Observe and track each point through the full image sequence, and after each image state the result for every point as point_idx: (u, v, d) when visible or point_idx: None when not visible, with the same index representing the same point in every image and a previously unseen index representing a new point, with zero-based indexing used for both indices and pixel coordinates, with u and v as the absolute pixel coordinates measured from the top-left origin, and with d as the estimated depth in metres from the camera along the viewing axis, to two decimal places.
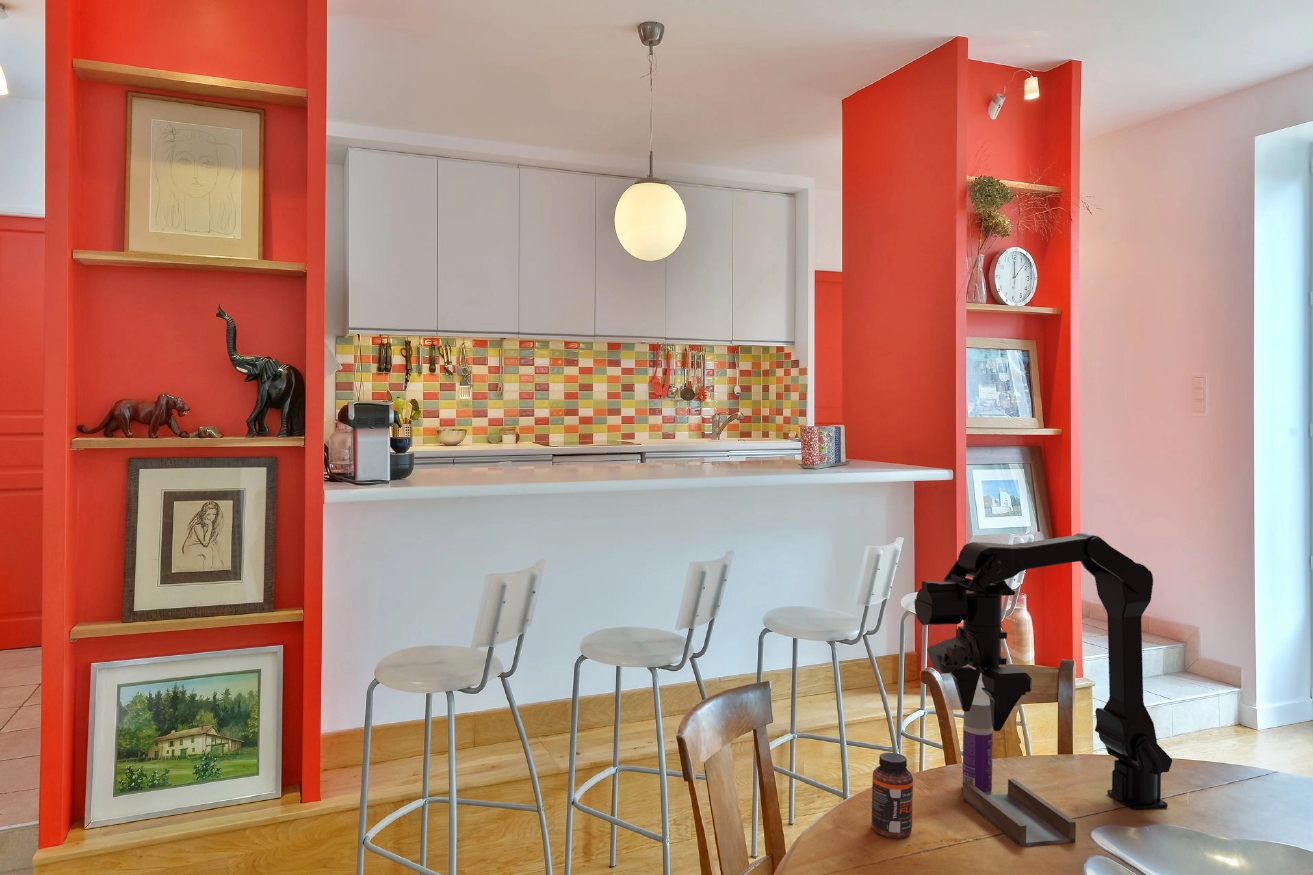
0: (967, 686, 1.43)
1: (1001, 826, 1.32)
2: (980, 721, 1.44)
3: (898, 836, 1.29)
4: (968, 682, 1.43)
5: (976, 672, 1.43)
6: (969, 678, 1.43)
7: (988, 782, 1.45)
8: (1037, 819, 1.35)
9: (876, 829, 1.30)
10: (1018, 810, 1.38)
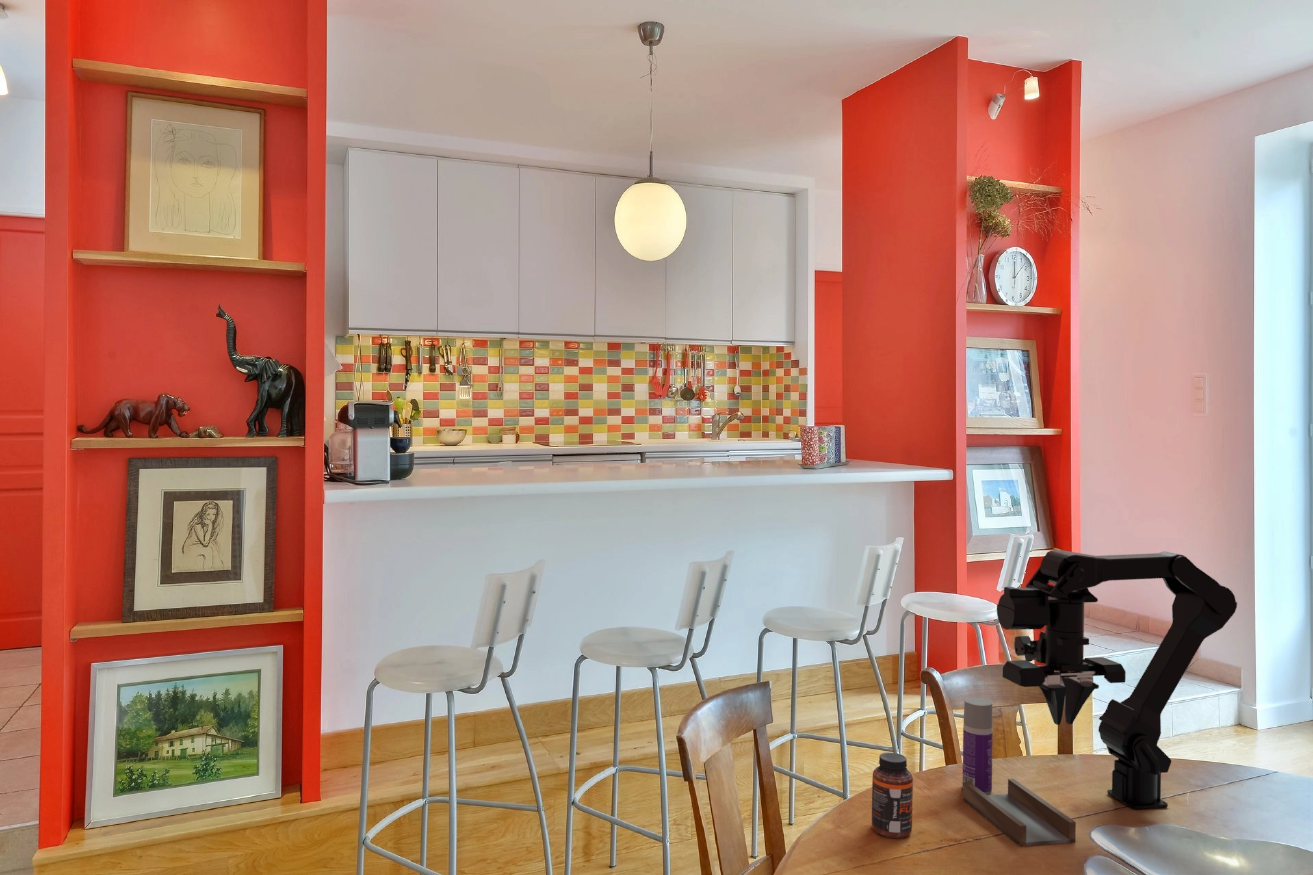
0: (1071, 699, 1.42)
1: (1001, 826, 1.32)
2: (980, 721, 1.44)
3: (898, 836, 1.29)
4: (1072, 696, 1.41)
5: (1079, 689, 1.40)
6: (1074, 692, 1.41)
7: (988, 782, 1.45)
8: (1037, 819, 1.35)
9: (876, 829, 1.30)
10: (1018, 810, 1.38)
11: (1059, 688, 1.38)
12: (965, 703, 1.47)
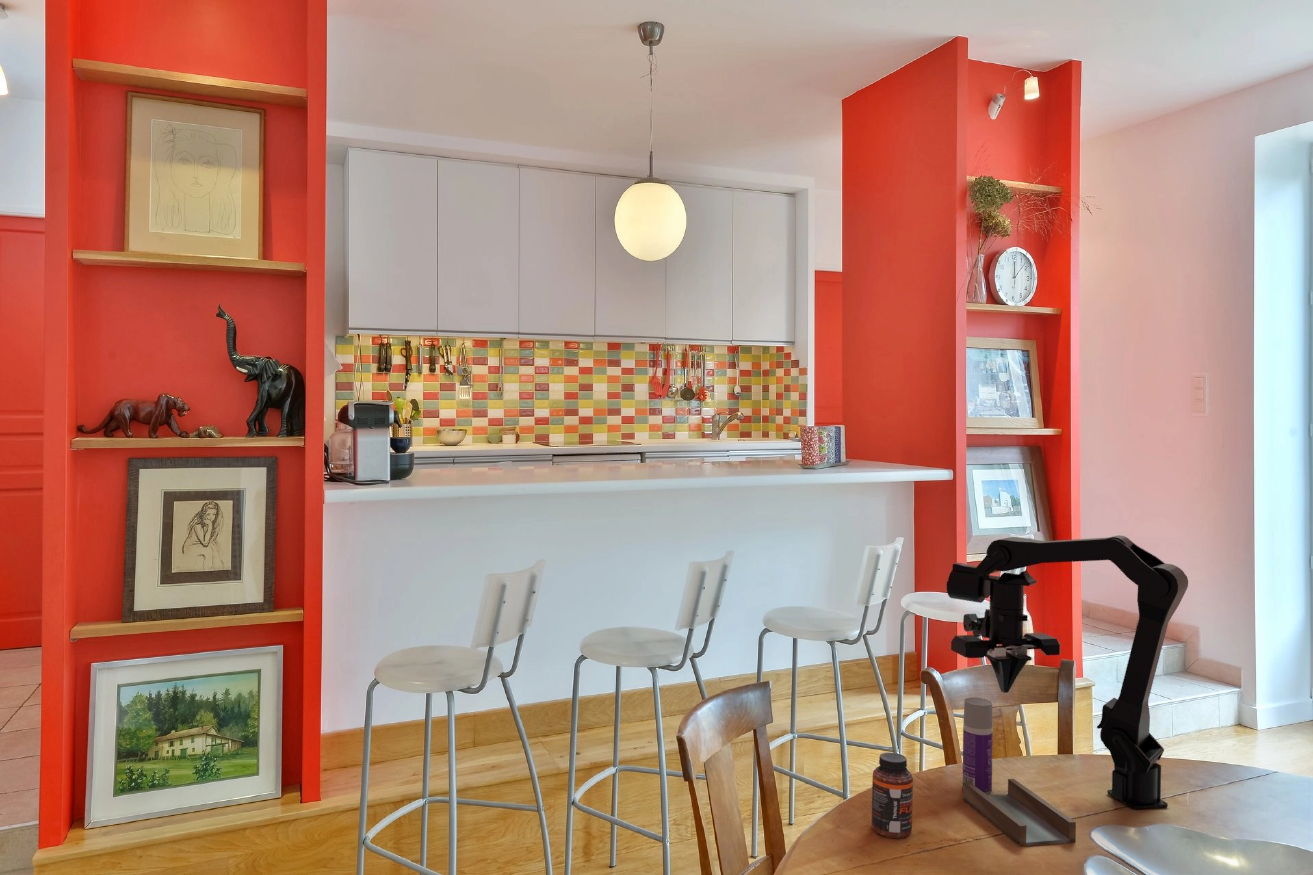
0: None
1: (1001, 826, 1.32)
2: (980, 721, 1.44)
3: (898, 836, 1.29)
4: None
5: (1014, 661, 1.56)
6: (1009, 664, 1.57)
7: (988, 782, 1.45)
8: (1037, 819, 1.35)
9: (876, 829, 1.30)
10: (1018, 810, 1.38)
11: (1005, 659, 1.55)
12: (965, 703, 1.47)
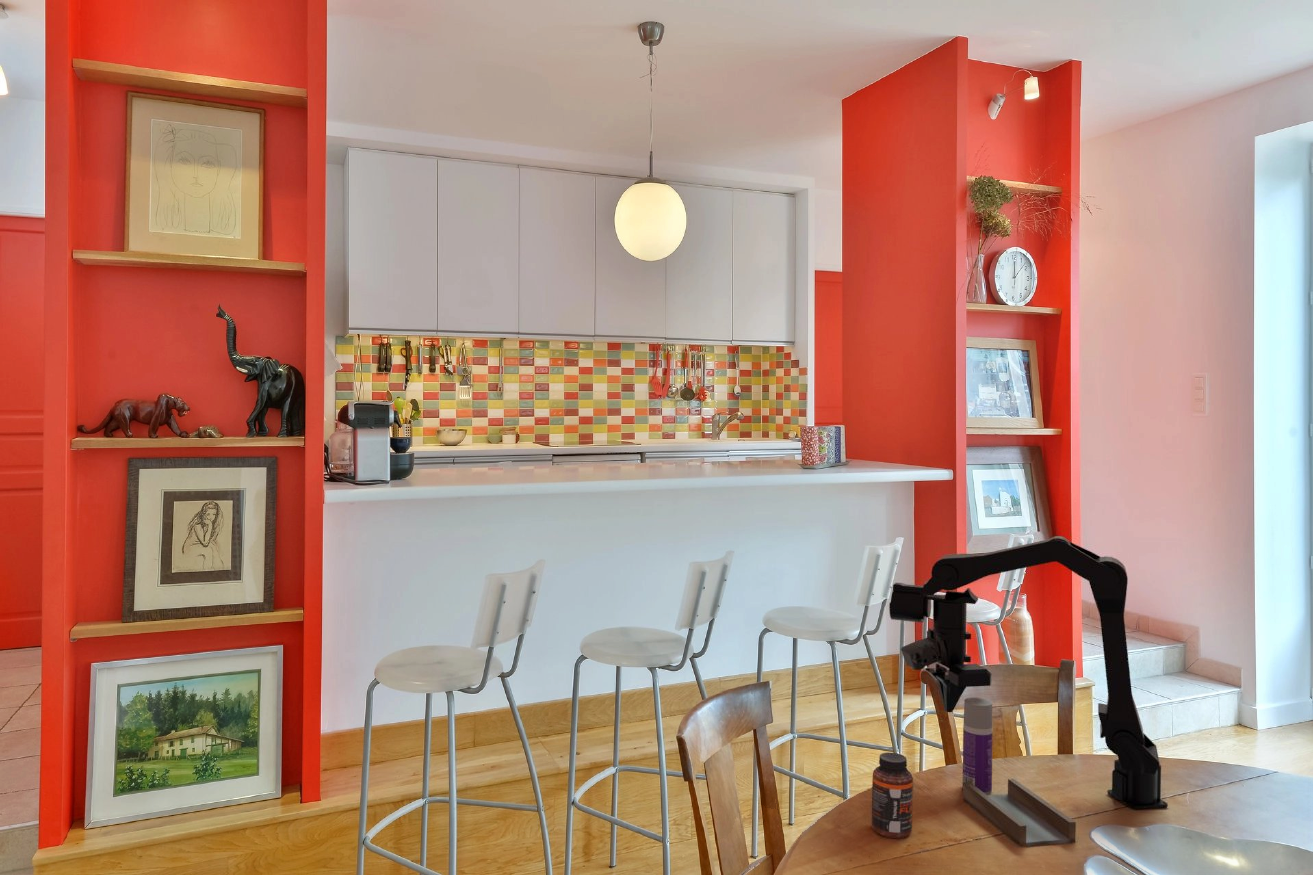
0: None
1: (1001, 826, 1.32)
2: (980, 721, 1.44)
3: (898, 836, 1.29)
4: None
5: None
6: None
7: (988, 782, 1.45)
8: (1037, 819, 1.35)
9: (876, 829, 1.30)
10: (1018, 810, 1.38)
11: None
12: (965, 703, 1.47)
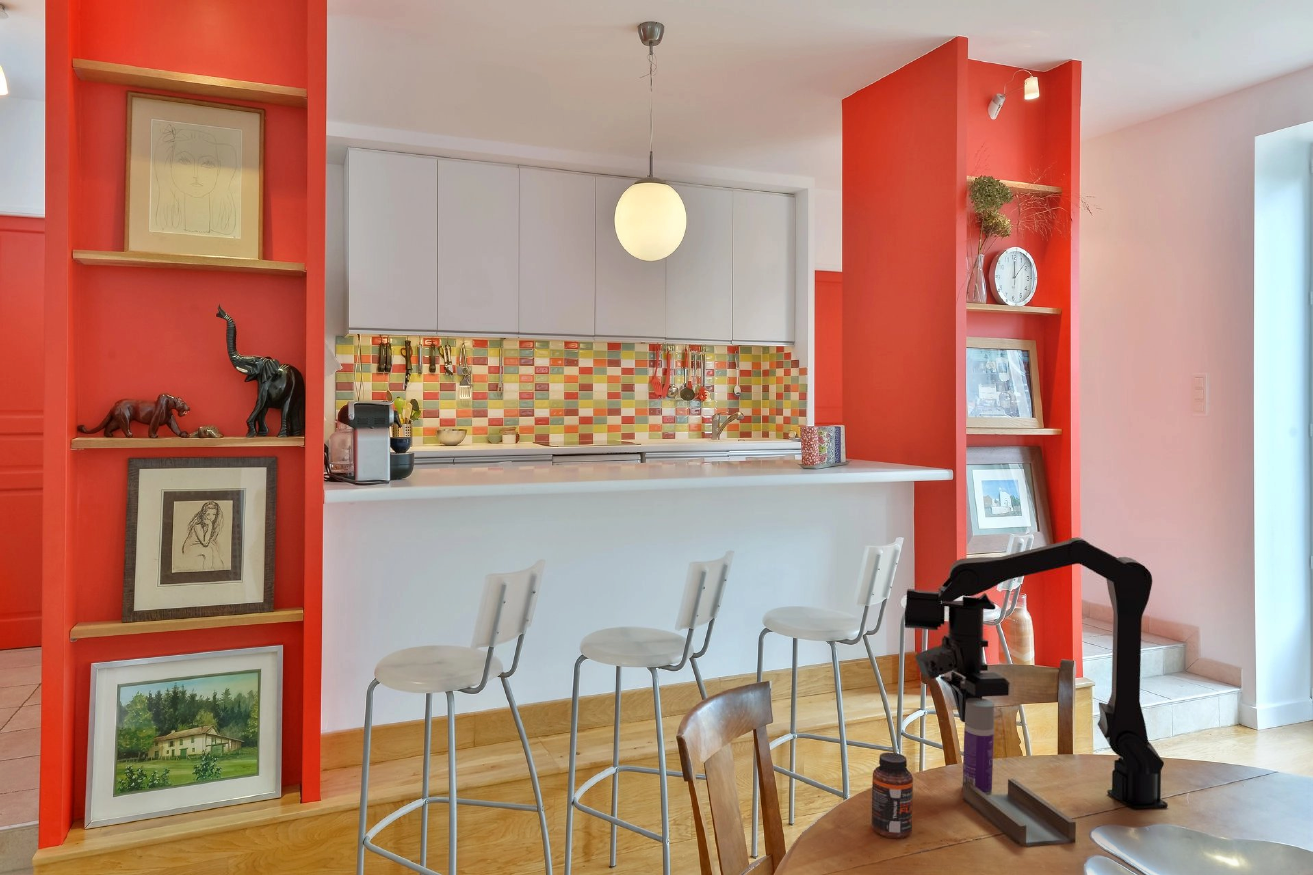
0: None
1: (1001, 826, 1.32)
2: (982, 723, 1.44)
3: (898, 836, 1.29)
4: None
5: None
6: None
7: (988, 782, 1.45)
8: (1037, 819, 1.35)
9: (876, 829, 1.30)
10: (1018, 810, 1.38)
11: None
12: (967, 704, 1.46)
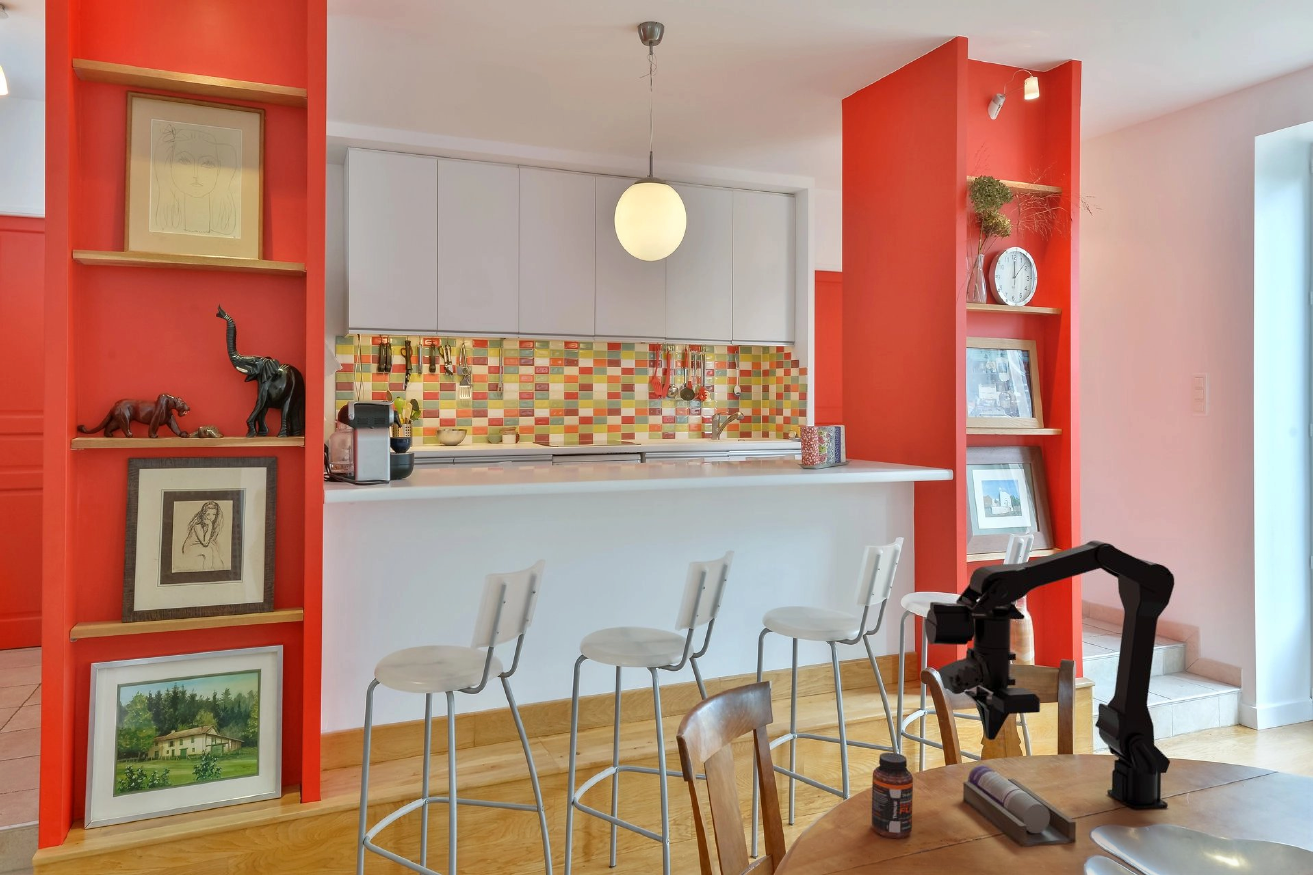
0: None
1: (1001, 826, 1.32)
2: None
3: (898, 836, 1.29)
4: None
5: None
6: None
7: None
8: None
9: (876, 829, 1.30)
10: None
11: None
12: (1022, 821, 1.30)
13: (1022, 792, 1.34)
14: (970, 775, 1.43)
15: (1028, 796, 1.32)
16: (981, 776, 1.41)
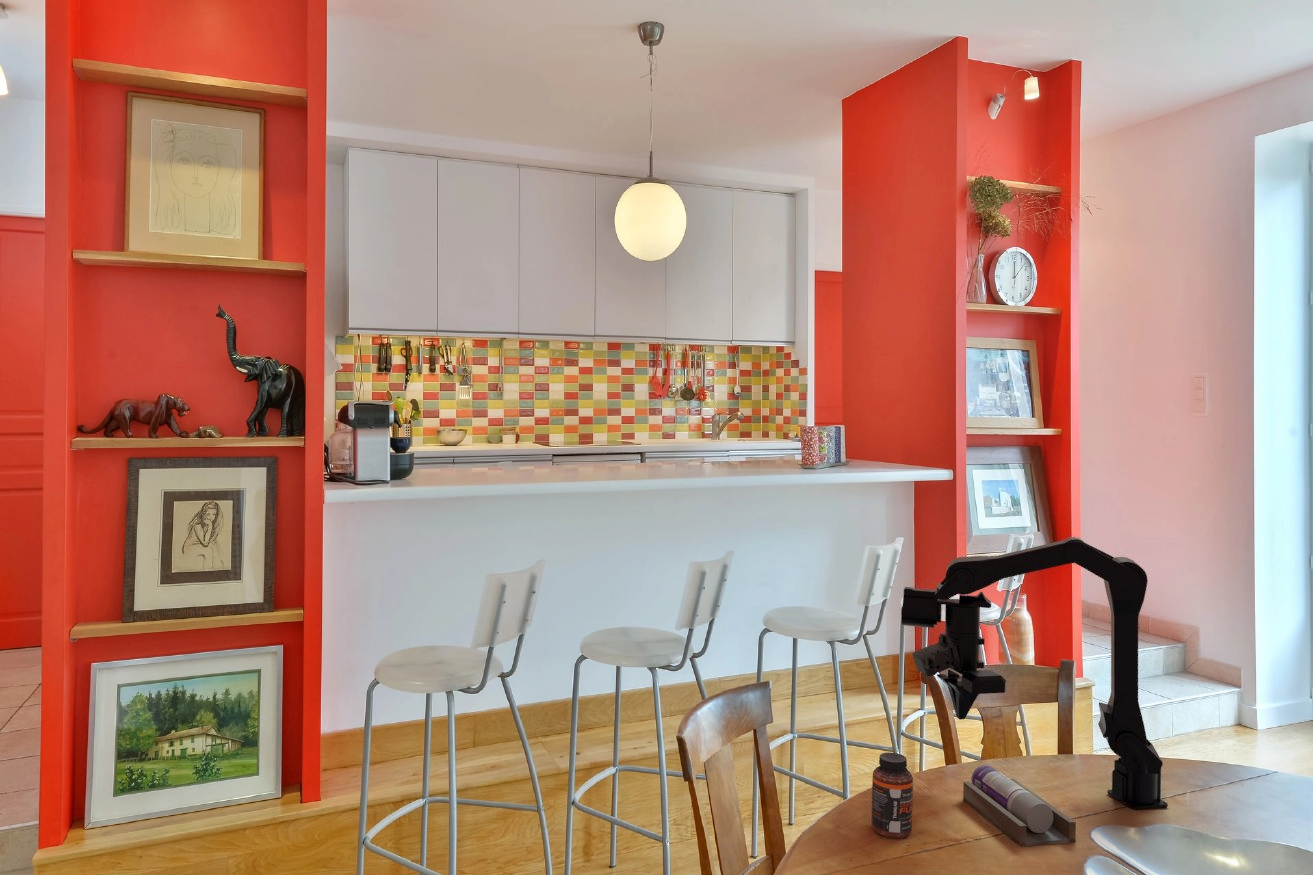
0: None
1: (1001, 826, 1.32)
2: None
3: (898, 836, 1.29)
4: None
5: None
6: None
7: None
8: None
9: (876, 829, 1.30)
10: None
11: None
12: (1025, 817, 1.30)
13: (1029, 792, 1.34)
14: (975, 772, 1.44)
15: (1035, 797, 1.32)
16: (986, 773, 1.41)
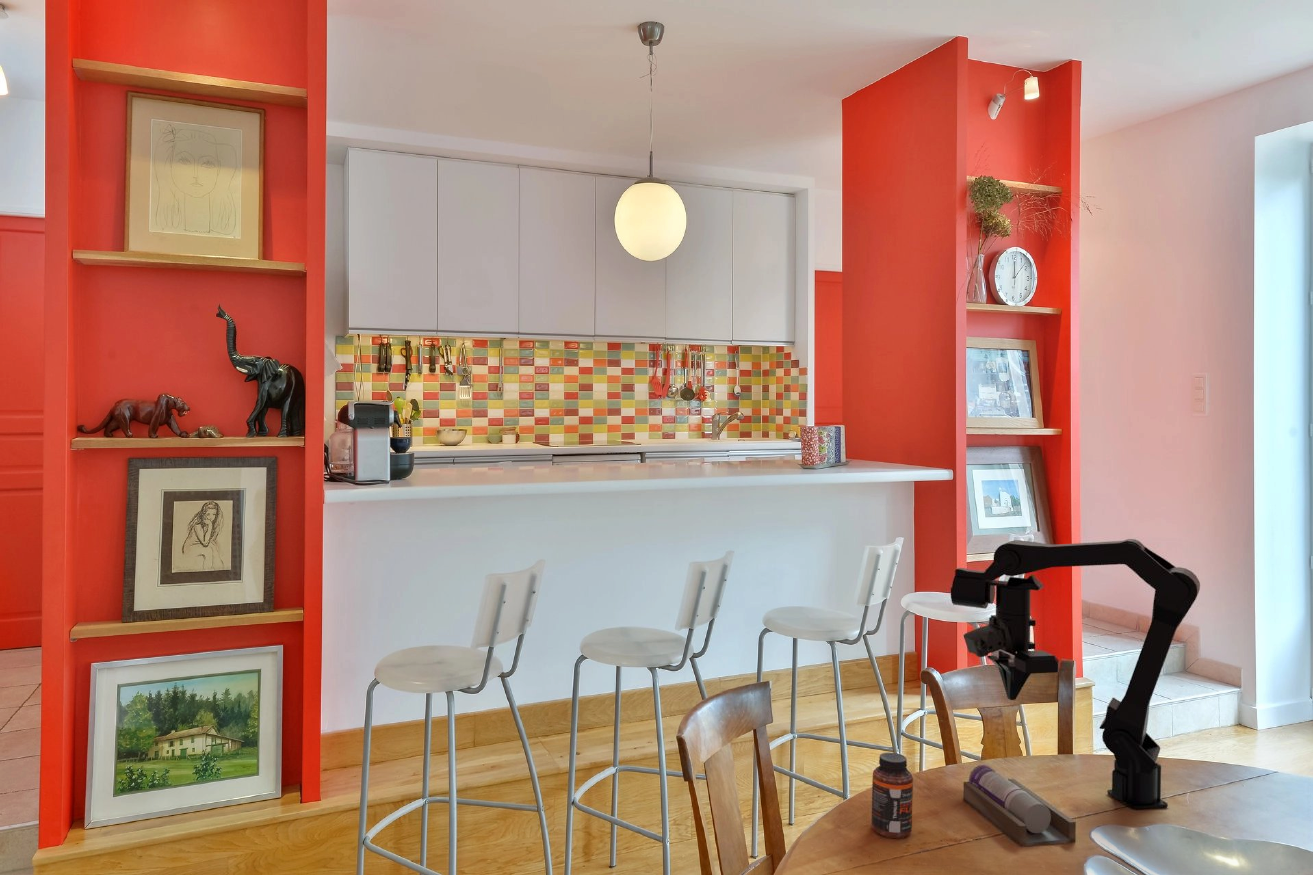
0: None
1: (1001, 826, 1.32)
2: None
3: (898, 836, 1.29)
4: None
5: None
6: None
7: None
8: None
9: (876, 829, 1.30)
10: None
11: None
12: (1023, 820, 1.30)
13: (1024, 792, 1.34)
14: (971, 774, 1.44)
15: (1030, 796, 1.32)
16: (982, 775, 1.41)
